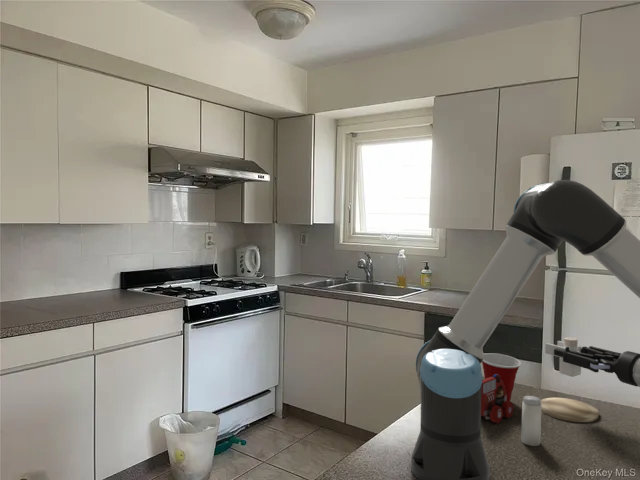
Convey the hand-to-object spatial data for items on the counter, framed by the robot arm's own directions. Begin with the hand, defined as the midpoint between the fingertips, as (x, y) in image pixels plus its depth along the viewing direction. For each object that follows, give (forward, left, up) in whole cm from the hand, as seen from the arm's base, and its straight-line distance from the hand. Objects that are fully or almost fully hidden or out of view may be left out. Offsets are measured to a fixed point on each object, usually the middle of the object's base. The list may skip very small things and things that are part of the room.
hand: (552, 346), depth 130 cm
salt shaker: (-27, +3, -16) cm, 32 cm away
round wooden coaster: (-3, -4, -16) cm, 17 cm away
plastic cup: (-4, +13, -16) cm, 21 cm away
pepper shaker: (-3, -4, -6) cm, 8 cm away
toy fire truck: (-16, +13, -16) cm, 26 cm away
